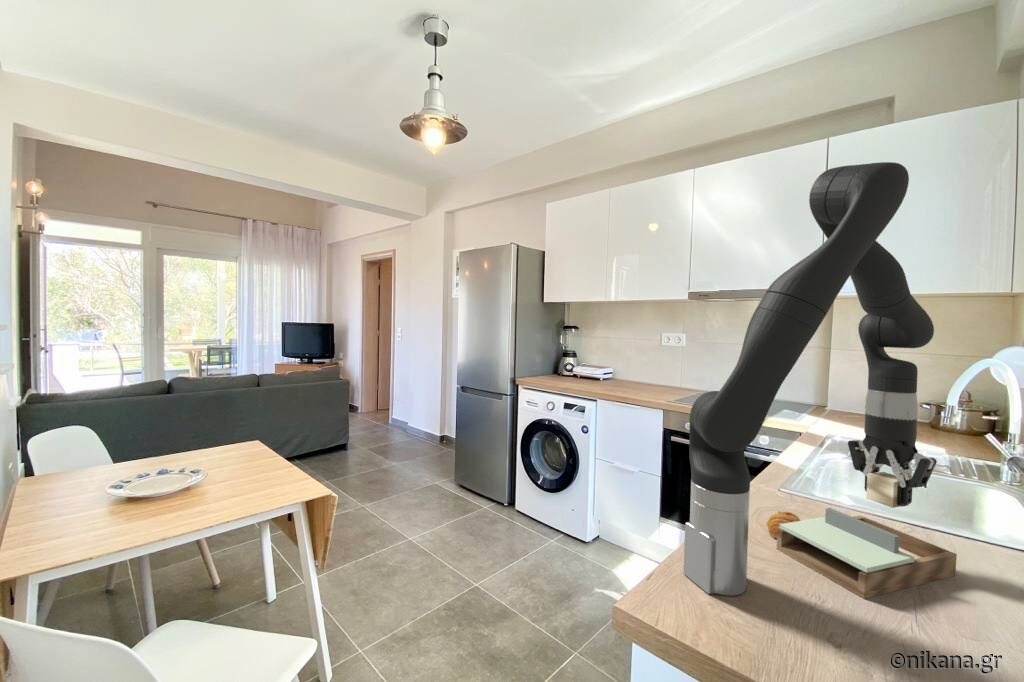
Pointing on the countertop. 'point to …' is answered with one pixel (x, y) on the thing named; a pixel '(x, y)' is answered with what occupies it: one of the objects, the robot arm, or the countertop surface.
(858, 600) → the countertop surface
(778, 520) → the pastry
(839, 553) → the lid
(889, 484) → the block
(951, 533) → the countertop surface
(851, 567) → the wooden box
